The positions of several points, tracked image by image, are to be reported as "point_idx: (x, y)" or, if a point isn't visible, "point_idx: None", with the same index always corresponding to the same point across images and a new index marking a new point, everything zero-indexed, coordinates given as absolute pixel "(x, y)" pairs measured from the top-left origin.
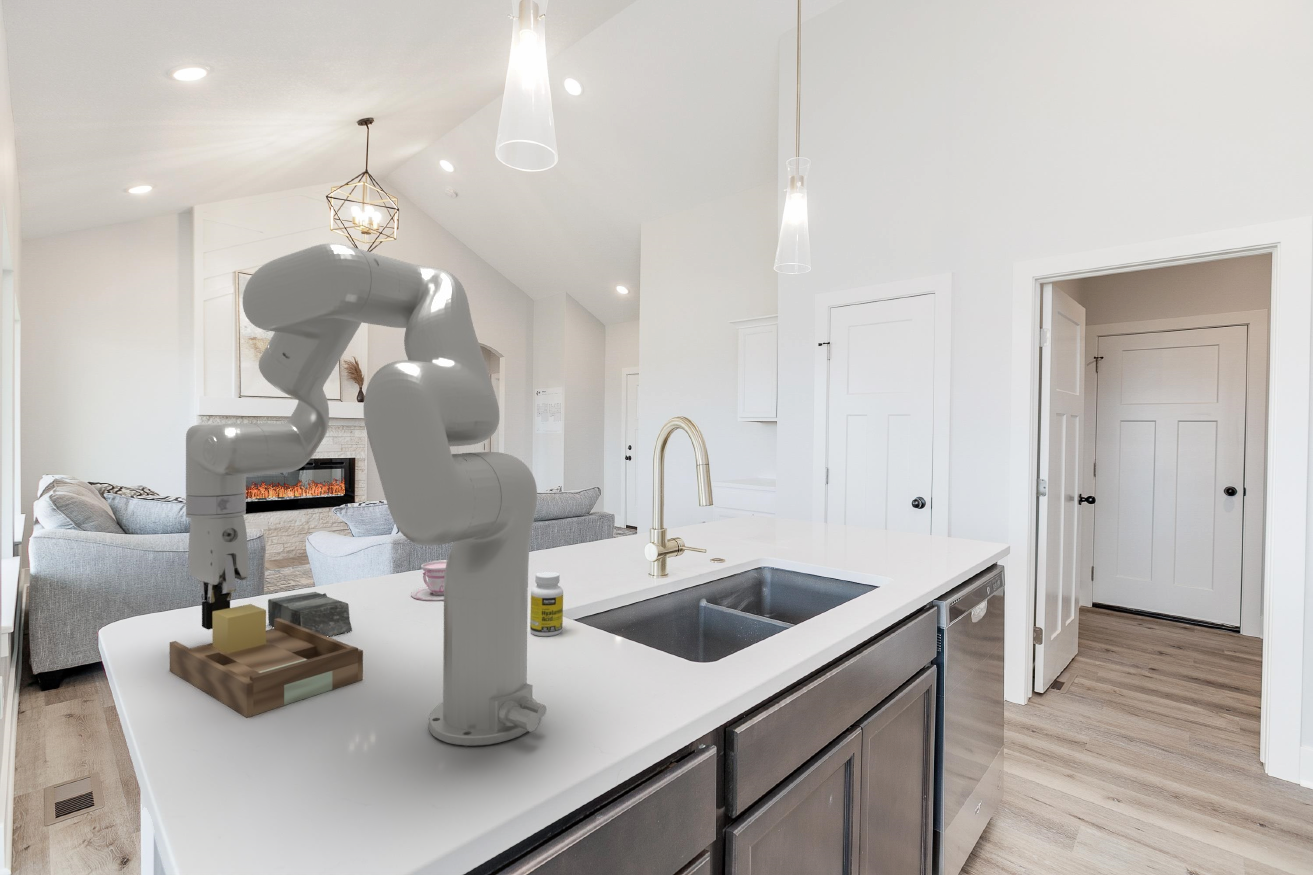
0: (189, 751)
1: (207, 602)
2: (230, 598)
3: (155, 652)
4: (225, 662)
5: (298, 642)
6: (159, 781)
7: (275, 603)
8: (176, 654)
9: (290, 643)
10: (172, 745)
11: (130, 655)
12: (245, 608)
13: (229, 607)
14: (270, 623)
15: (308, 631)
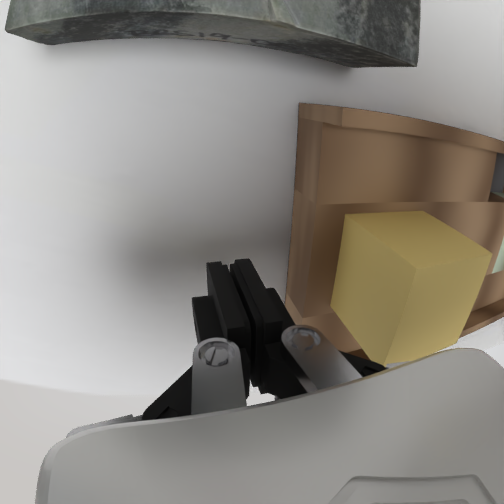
0: (487, 331)
1: (260, 387)
2: (316, 329)
3: (115, 348)
4: None
5: (465, 156)
6: (492, 345)
7: (101, 15)
8: None
9: (458, 172)
10: (473, 341)
11: (106, 378)
12: (440, 295)
13: (267, 296)
14: (64, 41)
15: (494, 146)
